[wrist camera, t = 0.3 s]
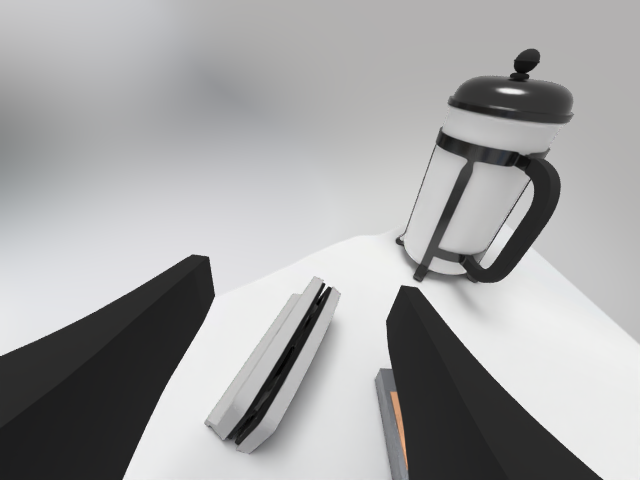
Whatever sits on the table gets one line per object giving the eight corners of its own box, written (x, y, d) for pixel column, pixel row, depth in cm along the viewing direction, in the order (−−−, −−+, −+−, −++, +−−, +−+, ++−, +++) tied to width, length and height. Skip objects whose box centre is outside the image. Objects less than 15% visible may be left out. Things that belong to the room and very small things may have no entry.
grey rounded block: (290, 298, 35) (316, 254, 28) (318, 316, 35) (351, 277, 28) (200, 427, 22) (211, 404, 16) (243, 459, 22) (272, 448, 16)
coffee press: (371, 258, 43) (430, 37, 25) (416, 227, 53) (482, 50, 35) (473, 323, 34) (681, 45, 16) (506, 271, 43) (660, 59, 25)
